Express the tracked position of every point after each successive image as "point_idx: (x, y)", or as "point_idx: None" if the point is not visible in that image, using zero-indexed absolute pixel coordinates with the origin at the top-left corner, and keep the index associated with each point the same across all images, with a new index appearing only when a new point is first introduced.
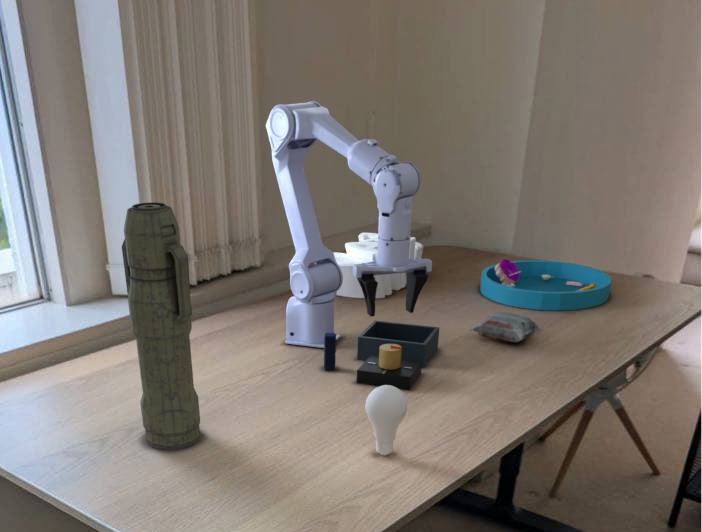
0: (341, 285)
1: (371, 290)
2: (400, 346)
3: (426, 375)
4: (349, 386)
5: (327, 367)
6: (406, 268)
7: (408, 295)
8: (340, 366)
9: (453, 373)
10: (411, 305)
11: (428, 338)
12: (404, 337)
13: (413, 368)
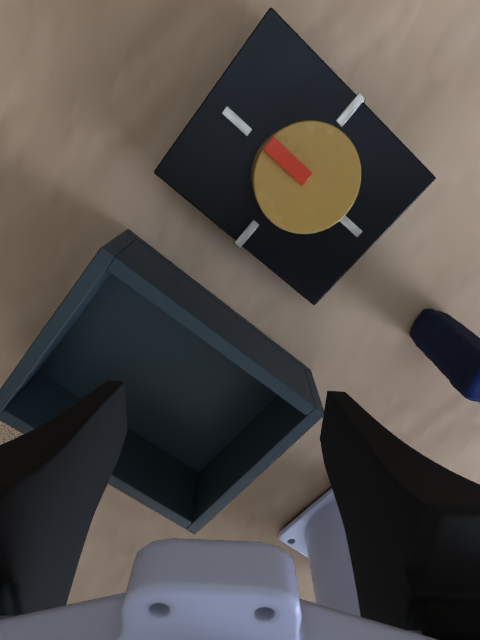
0: None
1: (431, 475)
2: (269, 150)
3: (144, 158)
4: (452, 154)
5: (450, 318)
6: (91, 614)
7: (96, 478)
8: (385, 337)
9: (38, 141)
10: (109, 395)
11: (65, 312)
12: None
13: (215, 109)
